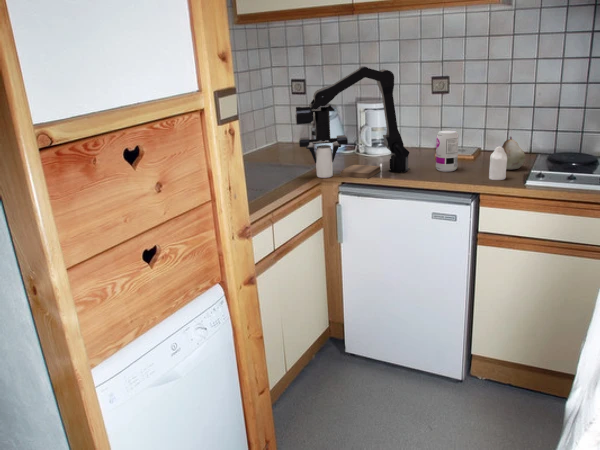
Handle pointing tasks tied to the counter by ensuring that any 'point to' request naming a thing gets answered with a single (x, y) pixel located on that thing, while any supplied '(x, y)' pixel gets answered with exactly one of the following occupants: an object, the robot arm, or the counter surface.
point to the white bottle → (498, 164)
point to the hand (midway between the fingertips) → (324, 162)
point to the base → (360, 171)
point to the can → (324, 161)
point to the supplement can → (447, 150)
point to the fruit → (513, 154)
